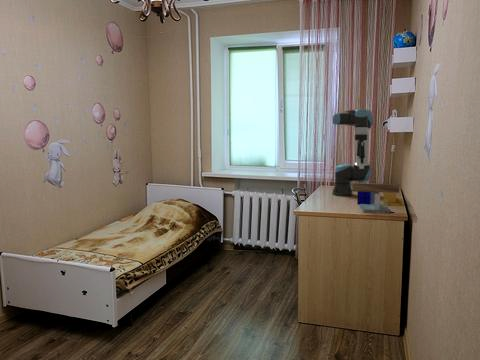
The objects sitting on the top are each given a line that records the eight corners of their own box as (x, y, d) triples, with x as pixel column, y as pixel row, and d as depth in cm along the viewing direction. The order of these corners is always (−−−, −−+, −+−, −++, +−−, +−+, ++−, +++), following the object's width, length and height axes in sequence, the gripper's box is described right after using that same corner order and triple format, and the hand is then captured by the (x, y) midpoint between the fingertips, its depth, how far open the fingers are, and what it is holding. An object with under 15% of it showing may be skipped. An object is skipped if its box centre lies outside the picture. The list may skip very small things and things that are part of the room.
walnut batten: (352, 190, 261) (352, 182, 261) (397, 191, 257) (398, 184, 256) (352, 191, 258) (353, 183, 257) (398, 192, 253) (399, 184, 252)
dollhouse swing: (388, 206, 269) (389, 192, 268) (381, 203, 278) (382, 190, 277) (403, 205, 271) (403, 191, 269) (395, 202, 280) (396, 189, 279)
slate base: (360, 206, 269) (360, 204, 269) (385, 206, 266) (385, 204, 266) (363, 212, 251) (363, 209, 251) (390, 212, 249) (390, 210, 249)
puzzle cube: (357, 204, 275) (357, 190, 274) (359, 201, 285) (359, 187, 283) (372, 205, 271) (373, 190, 270) (374, 202, 280) (374, 188, 279)
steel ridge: (370, 204, 268) (370, 189, 266) (374, 204, 267) (375, 189, 266) (374, 209, 250) (374, 194, 249) (379, 210, 250) (380, 194, 248)
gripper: (352, 133, 267) (352, 165, 270) (357, 134, 243) (356, 169, 246) (364, 133, 266) (363, 165, 269) (370, 134, 242) (369, 169, 245)
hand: (360, 167), depth 258 cm, fingers open, 13 cm apart
